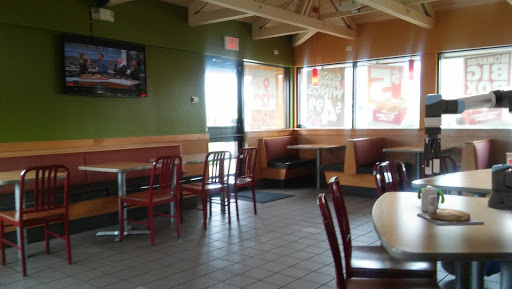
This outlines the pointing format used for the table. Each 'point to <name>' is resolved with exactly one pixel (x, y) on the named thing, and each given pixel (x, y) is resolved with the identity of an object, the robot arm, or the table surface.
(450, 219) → the dial
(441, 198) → the snack cup
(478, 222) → the dial base
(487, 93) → the robot arm
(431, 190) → the can
